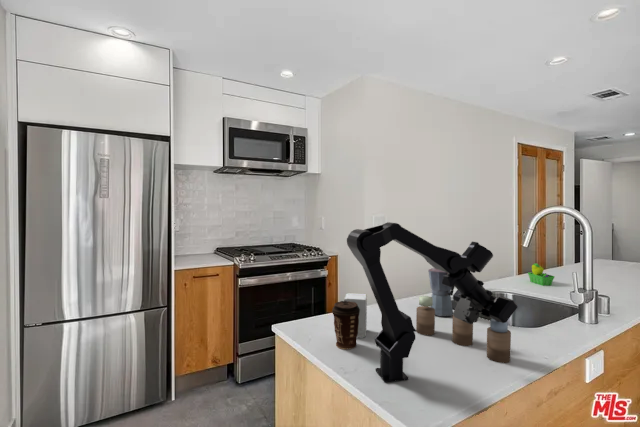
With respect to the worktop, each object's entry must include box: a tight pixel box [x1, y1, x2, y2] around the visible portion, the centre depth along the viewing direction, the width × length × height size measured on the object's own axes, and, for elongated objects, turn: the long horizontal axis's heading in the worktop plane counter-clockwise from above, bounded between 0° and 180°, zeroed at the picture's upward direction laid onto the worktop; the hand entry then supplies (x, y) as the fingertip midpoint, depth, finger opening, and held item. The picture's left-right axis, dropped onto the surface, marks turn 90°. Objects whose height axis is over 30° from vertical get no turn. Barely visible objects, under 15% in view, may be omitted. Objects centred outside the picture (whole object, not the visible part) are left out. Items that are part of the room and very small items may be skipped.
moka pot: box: [428, 267, 455, 317], centre depth 135 cm, size 10×15×20 cm, turn 21°
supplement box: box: [343, 292, 368, 338], centre depth 115 cm, size 7×7×13 cm
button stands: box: [415, 305, 512, 364], centre depth 107 cm, size 30×8×8 cm, turn 38°
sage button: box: [418, 295, 433, 307], centre depth 116 cm, size 4×4×2 cm
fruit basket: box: [527, 262, 555, 286], centre depth 186 cm, size 11×9×11 cm
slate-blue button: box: [489, 318, 509, 333], centre depth 97 cm, size 4×4×2 cm
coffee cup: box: [331, 300, 360, 351], centre depth 105 cm, size 9×8×13 cm
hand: (499, 320), depth 97 cm, fingers closed, pressing on slate-blue button
